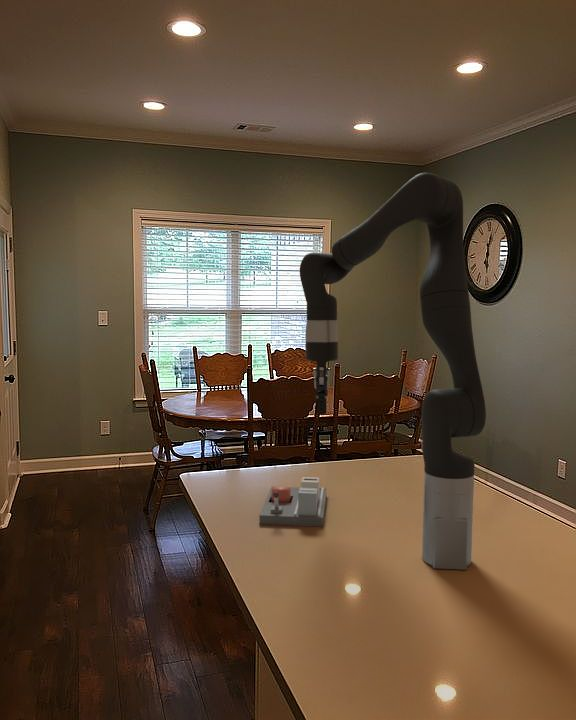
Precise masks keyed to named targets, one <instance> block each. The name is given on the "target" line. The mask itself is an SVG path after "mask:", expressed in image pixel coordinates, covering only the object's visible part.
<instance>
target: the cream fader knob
mask: <svg viewBox="0 0 576 720" xmlns="http://www.w3.org/2000/svg"><path fill="white" fill-rule="evenodd" d="M300 484H301V485H300V488H317V503H318V501H319V488H320V477H313V476H311V477H310V476H309V477H307V476H306V477H305V476H303V477H302V478H301V481H300Z"/></svg>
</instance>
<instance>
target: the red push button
mask: <svg viewBox="0 0 576 720" xmlns="http://www.w3.org/2000/svg"><path fill="white" fill-rule="evenodd" d="M272 487H273V488H272V489H271V488H270V489H271V502H274V497H273V493H274V492H278V493H279V497H278V503H291V488H289V487H290V486H284V485H279V486H278V485H277V486H272Z"/></svg>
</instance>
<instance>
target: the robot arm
mask: <svg viewBox="0 0 576 720" xmlns="http://www.w3.org/2000/svg"><path fill="white" fill-rule="evenodd" d="M414 221H419V222H421V223H424V224H426V226H427V230H428V236H429V237H428V238H429V245H430V246H429V248H430V249H429V250H430V252H429V259H428V262H427V265H426V268H425V270H424V273H423V275H422V279H421V282H420V286H419V287H420V288H419V301H420V308H421V309H420V310H421V318H422V325H423V326H424V329H425V330H426V333H427V334H428V335H429V337H430V339H431V340H432V341H433V342H434V344H435V345H436V347H437V348H438V350H439V351H440V352H441V354H442V355H443V357H444V358H445V360H446V362H447V364H448V367H449V369H450V373H451V377H452V383H453V388H437V389H435V388H434V389H431V390H429V391H427V392H426V394H424V395H425V396H424V398H423V400H422V405H421V446H422V447H421V448H422V449H421V450H422V456H423V457H422V458H423V463H424V465H423V466H424V469H423V471H424V477H423V479H424V480H423V503H422V504H423V506H422V507H423V509H422V510H423V511H422V541H421V542H422V543H421V544H422V547H421V559H422V560H423V561H424V562H425V563H426V564H428V565H430V566H431V567H432V568H433V569H442V570H443V569H445V570H464V571H466V570H467V569H468V567H469V566H471V564H472V550H473V549H472V548H473V521H474V518H473V517H474V495H475V494H474V490H475V461H474V459H473V458H472V457H470V456H468V455H467V454H463V453H460V452H458V451H457V452H456V451H455V450H453V447H452V445H453V444H452V438H453V439H454V438H467V437H468V438H469V437H475V436H478V435H480V434H481V433H482V432H483V430H484V428H485V426H486V422H487V421H486V419H487V418H486V417H487V411H486V401H485V396H484V390H483V386H482V381H481V376H480V371H479V367H478V363H477V362H478V361H477V358H476V349H475V341H474V334H473V325H472V314H471V313H472V312H471V310H472V309H471V303H470V294H469V292H470V291H469V287H468V279H467V267H466V257H465V248H464V201H463V195H462V191H461V190H460V188H459V185H457V184H456V183H455V182H454V181H452V180H450V179H448V178H445V177H442V176H441V175H437V174H435V173H432V172H420V173H418V174H416V175H414V176H413V177H412V178H410V179H409V180H408V181H407V182H406V183H405V184H403V185H402V186H401V187H399V189H398V190H397V191H396V192H395V193H393V195H392V196H391V197H390V198H389V199H388V200H387V201H386V202H384V203H383V204H382V205H381V206H380V207H379V208H377V210H376V211H375V212H374V213H373V214H372V215H371V216H369V217H368V218H367V219H366V220H364V221H363V222H362V223H361V224H359V225H358V226H356V227H354V228H353V229H351V230H350V231H349V232H347V233H346V234H344V235H342V236H341V237H340V238H338V239H337V240H336V241H335V242H334V243H333V245H332V248H331V253H330V252H329V253H324V252H309V253H306V254H305V256H303V258H302V260H301V261H300V266H299V279H300V283H301V286H302V291H303V295H304V298H305V301H306V325H305V360H306V361H309V362H316V367H313V369H312V375H313V378H314V380H313V383H314V389H315V398H316V414H317V415H319V416H321V415H323V416H324V415H327V399H328V390H329V388H330V376H331V367H328V366H327V365H328V364H327V363H328V362H334V361H335V362H336V361H337V360H338V359H339V327H338V303H337V302H338V300H337V298H336V297H335V296H334V295H333V294H330V293H328V292H327V289H326V285H333V284H336V283H338V282H340V281H342V280H343V279H344V278H345V277H346V276H347V275H348V274H349V273H350V272H351V271H352V270H353V269H354V268H355V267H356V266H358V265H359V264H362V263H363V262H364V261H366V260H368V259H369V258H371V257H372V256H373V255H375V254H376V253H377V252H379V250H380V249H381V248H382V247H383V246H384V244H385V242H386V241H387V239H388V237H389V236H390V235H391V234H392V233H393V232H394V231H395V230H397V229H398V228H400V227H402V226H403V225H406V224H408V223H410V222H414Z"/></svg>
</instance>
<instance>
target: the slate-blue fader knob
mask: <svg viewBox="0 0 576 720" xmlns="http://www.w3.org/2000/svg"><path fill="white" fill-rule="evenodd" d="M316 514H317V488H301V487H300V488H299V492H298V515H310V516H316Z"/></svg>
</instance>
